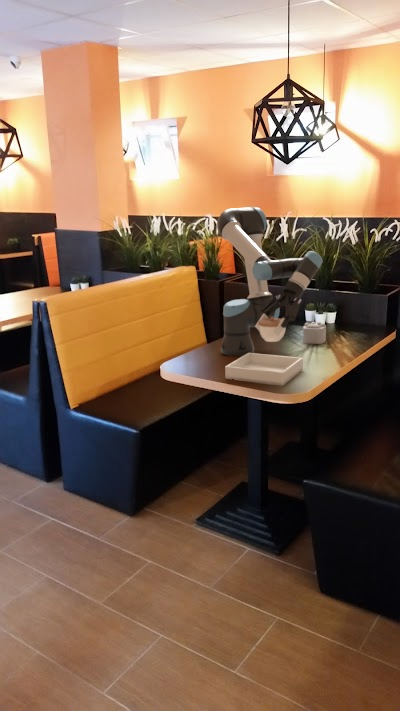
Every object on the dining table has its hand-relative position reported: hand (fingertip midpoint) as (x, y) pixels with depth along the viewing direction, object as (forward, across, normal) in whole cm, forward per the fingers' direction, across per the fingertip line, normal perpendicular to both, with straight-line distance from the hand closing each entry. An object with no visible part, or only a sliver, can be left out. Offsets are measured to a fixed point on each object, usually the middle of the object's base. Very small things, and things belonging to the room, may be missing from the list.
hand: (266, 331), depth 231 cm
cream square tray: (+13, +1, -12) cm, 18 cm away
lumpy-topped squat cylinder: (-24, +26, -50) cm, 62 cm away
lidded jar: (+1, 0, -5) cm, 5 cm away
